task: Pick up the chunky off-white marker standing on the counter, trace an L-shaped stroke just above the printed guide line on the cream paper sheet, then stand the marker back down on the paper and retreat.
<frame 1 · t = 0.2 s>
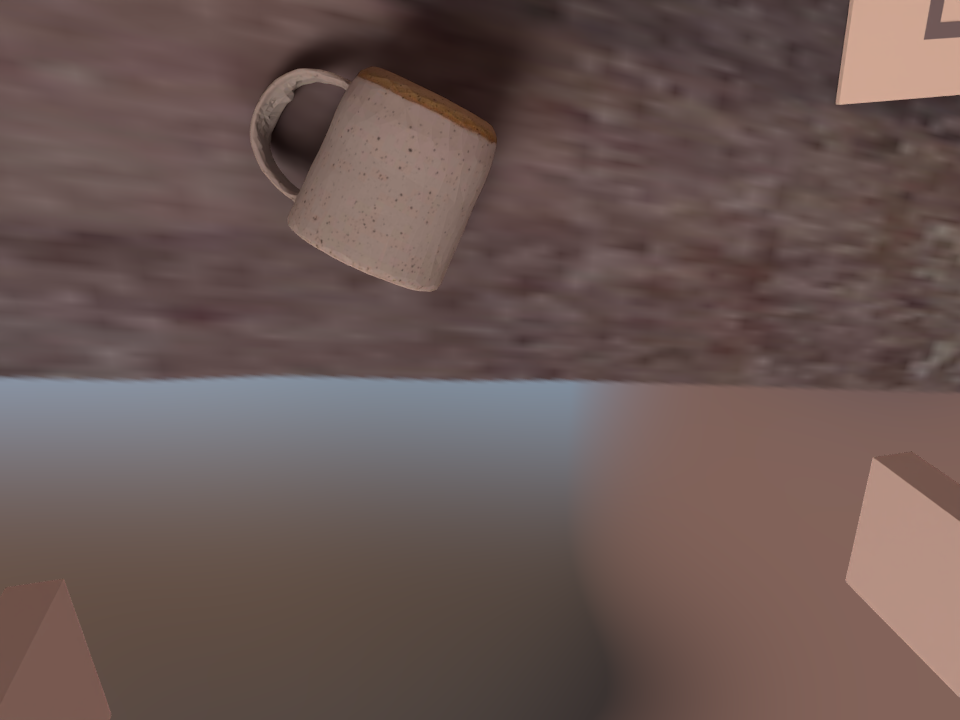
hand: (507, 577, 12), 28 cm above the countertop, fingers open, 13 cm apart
ceramic mug: (363, 162, 36), on the countertop
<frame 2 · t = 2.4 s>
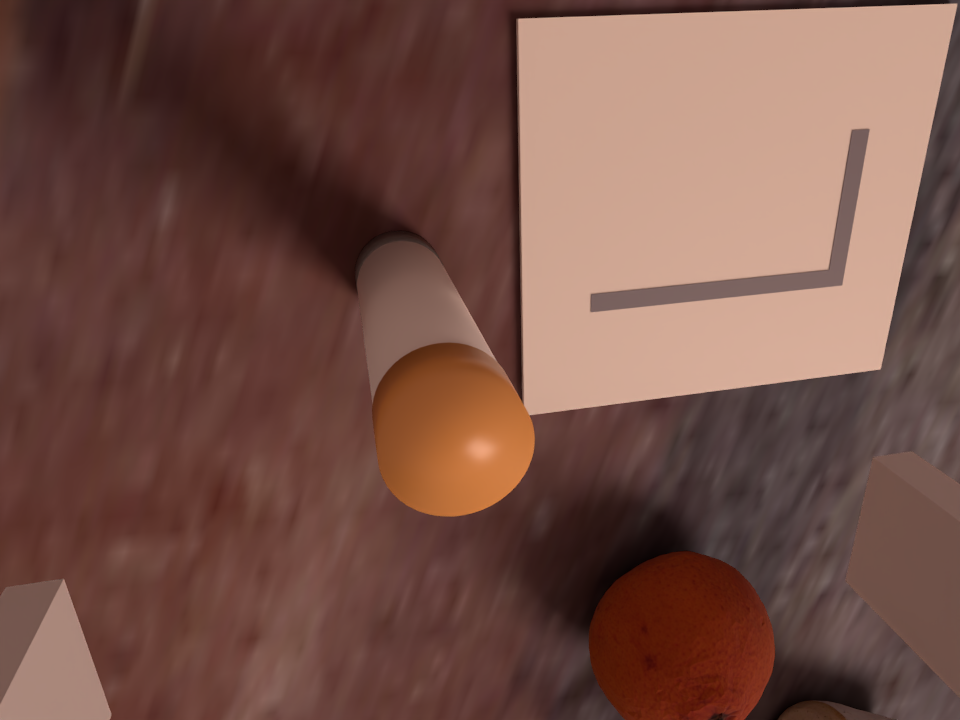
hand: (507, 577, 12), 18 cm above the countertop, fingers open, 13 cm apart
paper: (724, 220, 30), on the countertop
fruit: (650, 591, 38), on the countertop
marker: (398, 273, 28), on the countertop
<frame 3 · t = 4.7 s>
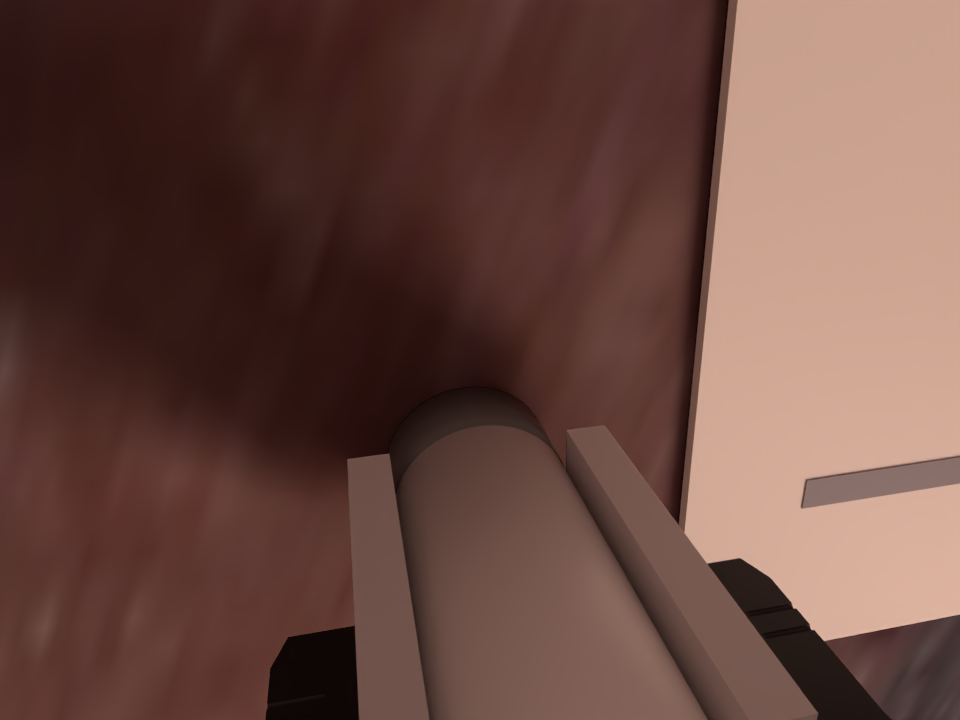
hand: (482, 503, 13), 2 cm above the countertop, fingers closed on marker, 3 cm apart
marker: (467, 460, 15), on the countertop, touching gripper
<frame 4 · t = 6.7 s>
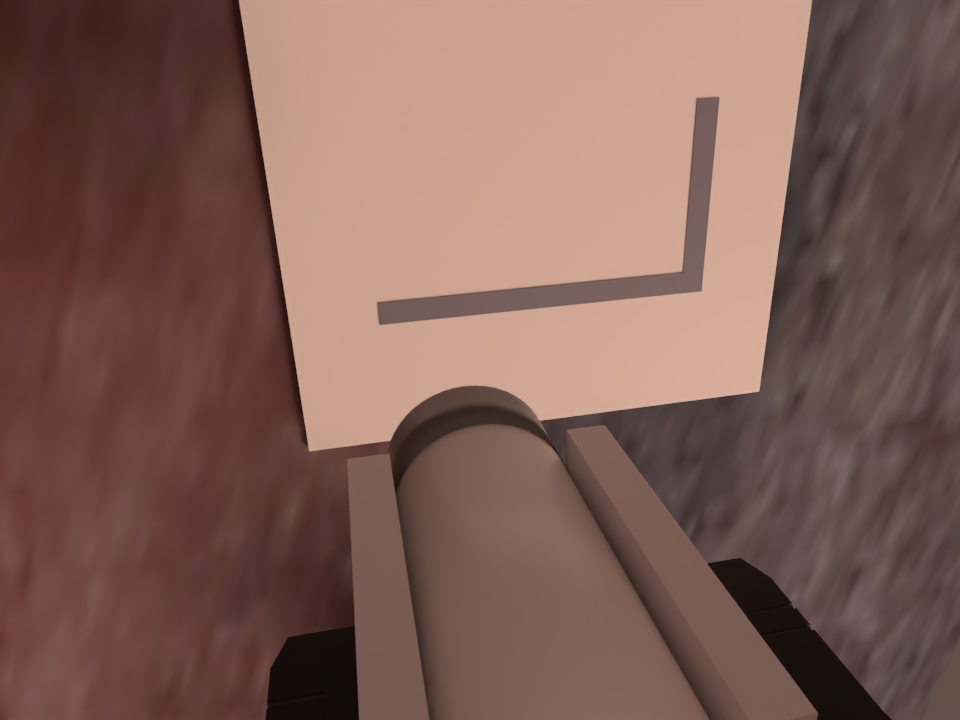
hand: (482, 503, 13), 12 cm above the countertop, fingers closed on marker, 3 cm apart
paper: (544, 211, 24), on the countertop
marker: (467, 459, 15), point 11 cm above the countertop, touching gripper
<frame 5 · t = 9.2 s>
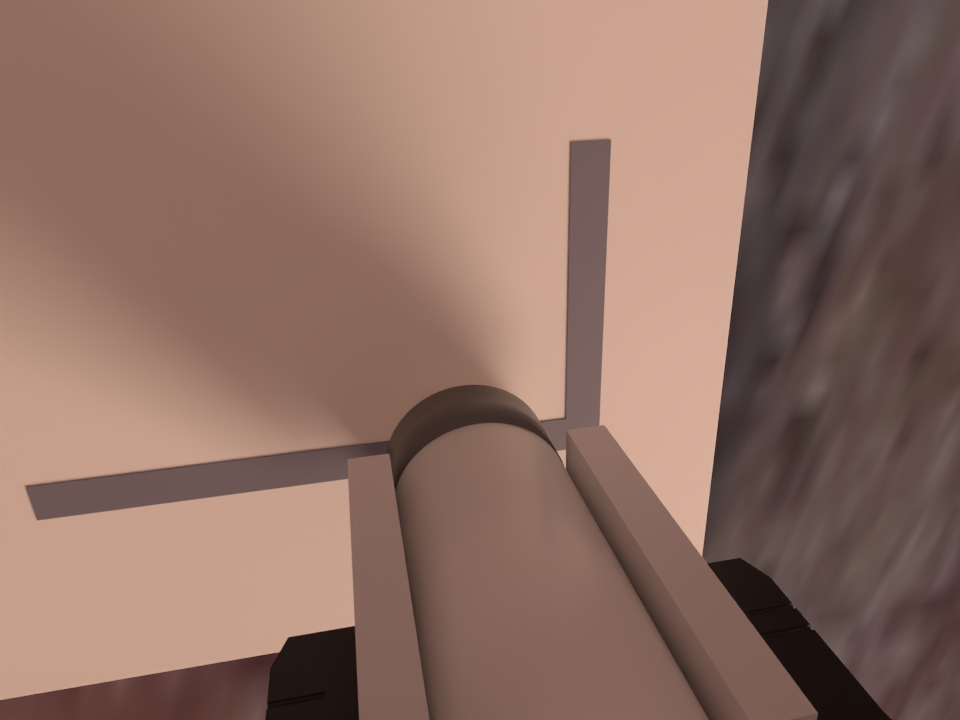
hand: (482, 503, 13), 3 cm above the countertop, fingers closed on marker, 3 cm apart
paper: (316, 329, 14), on the countertop
marker: (467, 458, 15), point 1 cm above the countertop, touching gripper
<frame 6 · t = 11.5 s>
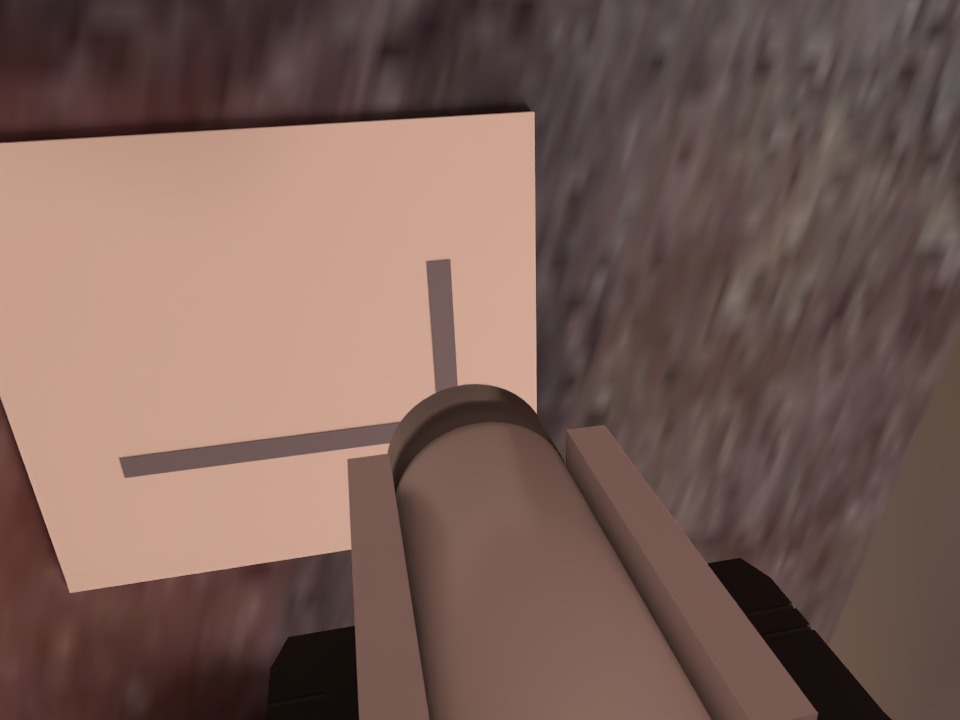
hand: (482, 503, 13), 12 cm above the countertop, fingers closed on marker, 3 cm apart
paper: (285, 366, 25), on the countertop
marker: (468, 457, 15), point 11 cm above the countertop, touching gripper
when the fingers open (2 cm above the countertop, at t = 13.7 s): marker stays where it is, resting on paper.
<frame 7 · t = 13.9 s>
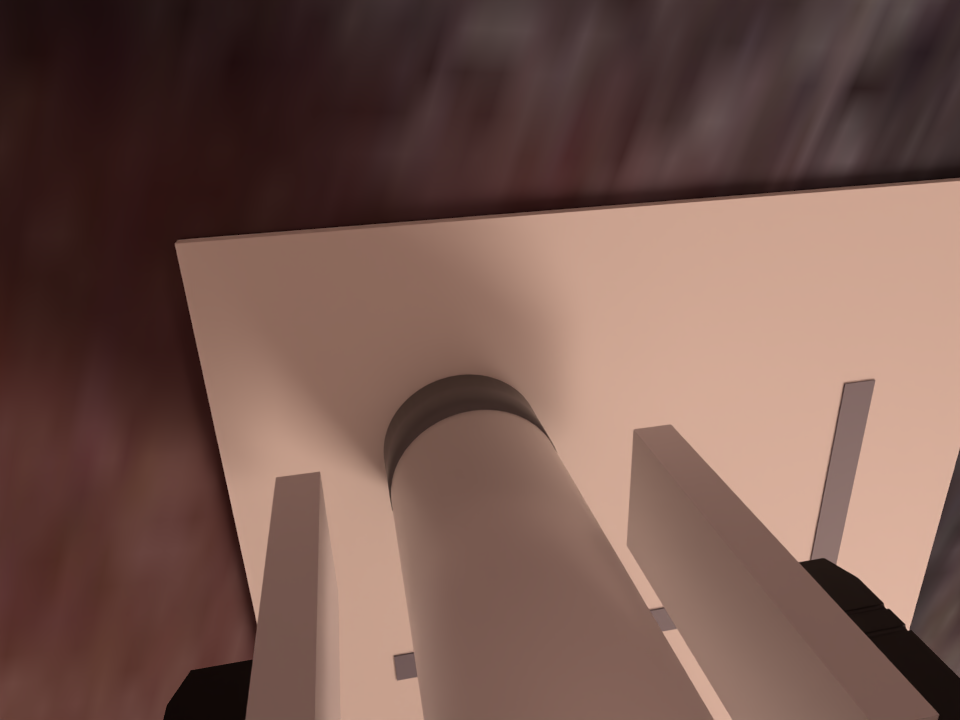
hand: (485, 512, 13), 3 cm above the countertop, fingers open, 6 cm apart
paper: (625, 525, 17), on the countertop
marker: (462, 446, 15), resting on paper
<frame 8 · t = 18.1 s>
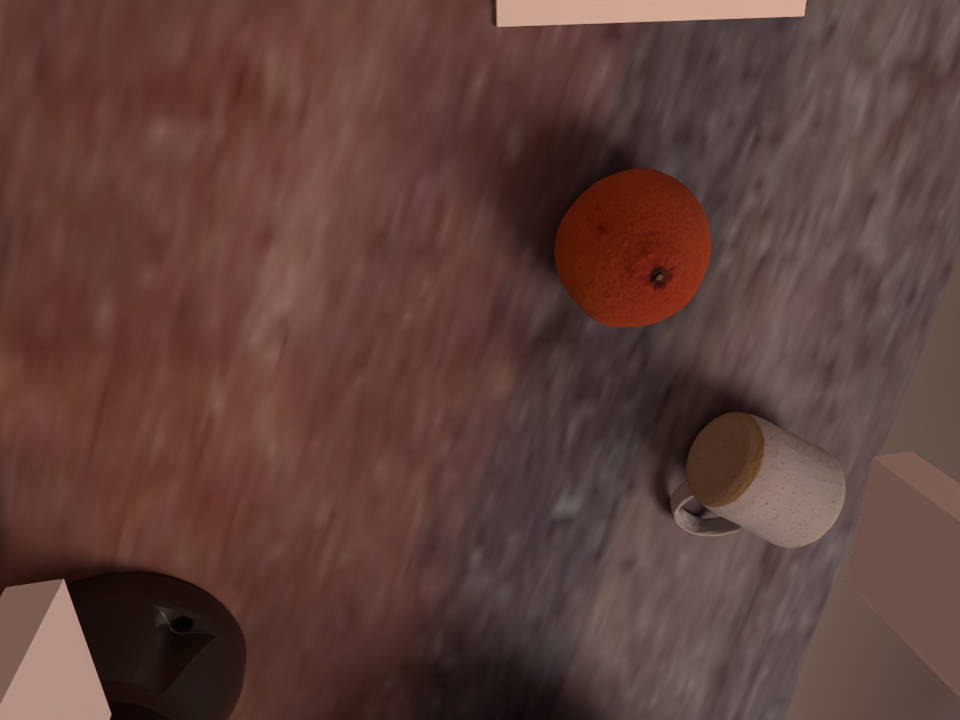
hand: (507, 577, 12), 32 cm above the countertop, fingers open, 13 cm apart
ceramic mug: (722, 463, 53), on the countertop
fruit: (610, 236, 44), on the countertop
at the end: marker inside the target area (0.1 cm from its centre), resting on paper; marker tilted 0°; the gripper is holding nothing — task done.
